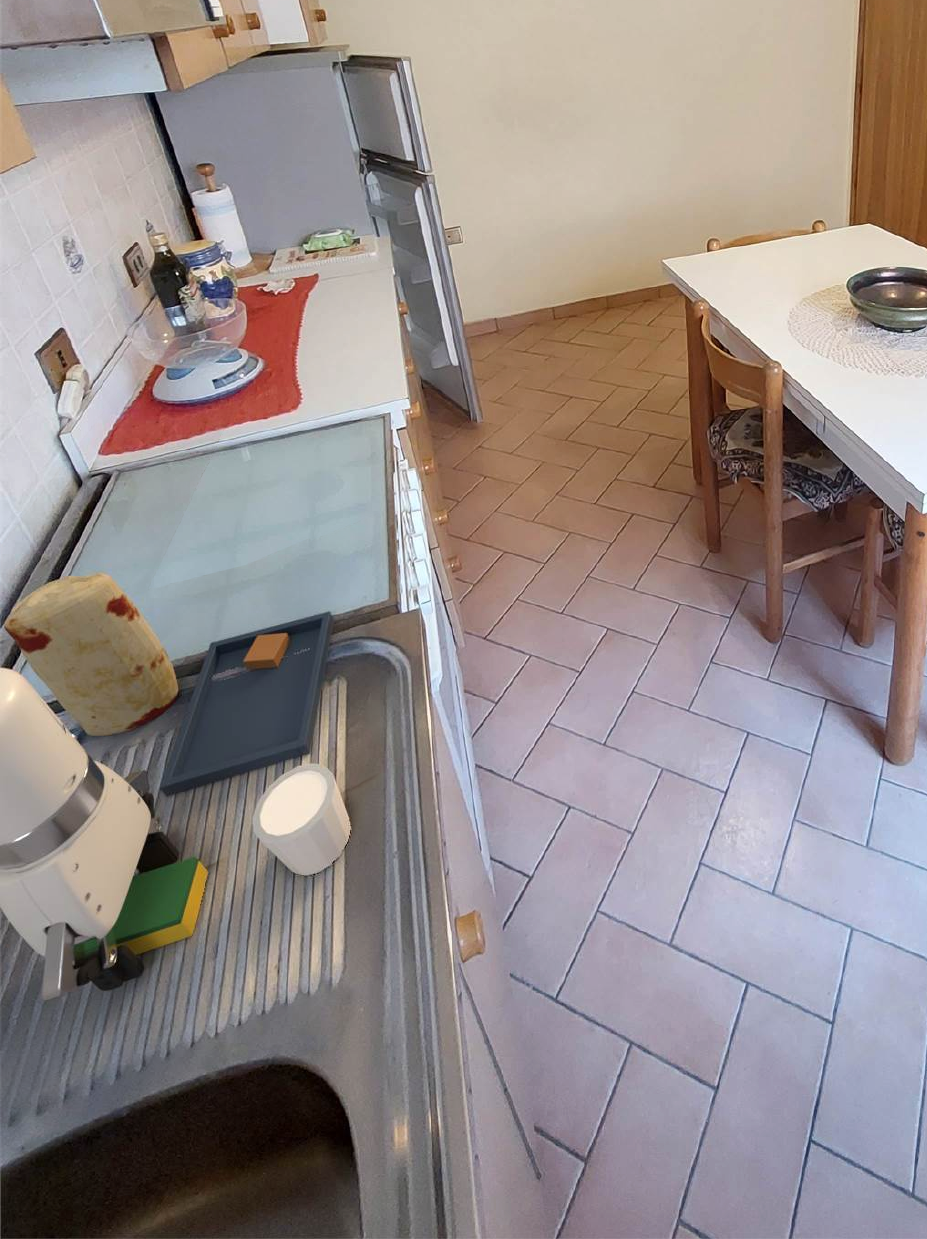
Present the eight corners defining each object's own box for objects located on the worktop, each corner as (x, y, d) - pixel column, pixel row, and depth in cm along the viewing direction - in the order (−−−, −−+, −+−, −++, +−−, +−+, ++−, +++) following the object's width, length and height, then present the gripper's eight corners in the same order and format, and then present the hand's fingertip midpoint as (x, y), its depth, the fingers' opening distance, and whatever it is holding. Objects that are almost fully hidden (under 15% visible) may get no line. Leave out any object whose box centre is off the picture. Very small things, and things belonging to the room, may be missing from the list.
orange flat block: (247, 669, 85) (242, 661, 84) (262, 643, 88) (257, 635, 87) (277, 667, 85) (273, 659, 84) (291, 640, 88) (287, 632, 87)
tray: (168, 799, 73) (159, 787, 72) (217, 654, 88) (210, 642, 87) (311, 756, 75) (304, 744, 74) (335, 622, 90) (330, 610, 89)
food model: (88, 762, 77) (-16, 637, 67) (94, 713, 82) (-2, 590, 73) (192, 712, 81) (108, 587, 72) (192, 668, 86) (113, 546, 77)
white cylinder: (283, 821, 70) (256, 780, 67) (358, 791, 72) (336, 750, 68) (276, 898, 64) (245, 857, 61) (357, 864, 66) (332, 822, 63)
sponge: (88, 971, 61) (70, 954, 59) (112, 904, 65) (96, 887, 64) (192, 936, 62) (177, 919, 61) (209, 872, 67) (196, 855, 65)
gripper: (40, 717, 62) (133, 828, 70) (-92, 962, 47) (47, 1065, 55) (138, 691, 63) (218, 803, 71) (40, 920, 48) (155, 1027, 57)
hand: (143, 916), depth 63 cm, fingers open, 8 cm apart
